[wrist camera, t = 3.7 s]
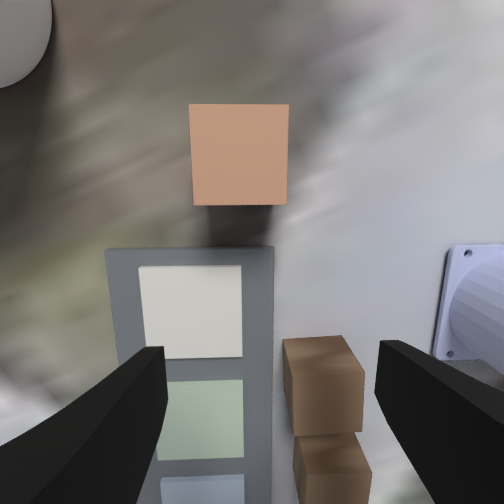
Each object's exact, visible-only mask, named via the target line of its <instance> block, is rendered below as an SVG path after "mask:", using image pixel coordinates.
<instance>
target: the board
mask: <svg viewBox="0 0 504 504" xmlns="http://www.w3.org/2000/svg"><path fill="white" fill-rule="evenodd" d="M104 253H105V260H106V268H107V276H108V284H109V292H110V299H111V307H112V315H113V323H114V330H115V338H116V346H117V354H118V362H119V367H120V366H121V365H122V364H123V363H125V362H126V361H127V360H128V359H130V358H131V357H132V356H133V355H134V354H136V353H137V352H138V351H140V350H141V349H142V348H144V347H145V346H164V353H165V365H166V376H167V388H168V404H167V409H166V413H165V418H164V422H163V427H162V431H161V434H160V437H159V440H158V443H157V446H156V449H155V451H154V454H153V457H152V460H151V463H150V466H149V469H148V472H147V474H146V477H145V480H144V483H143V486H142V489H141V492H140V494H139V497H138V500H137V504H271V458H272V386H273V314H274V247H273V246H249V247H176V248H108V249H107V250H105V251H104Z"/></svg>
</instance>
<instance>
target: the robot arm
mask: <svg viewBox="0 0 504 504" xmlns="http://www.w3.org/2000/svg"><path fill="white" fill-rule="evenodd" d="M466 250H468V253H467V254H466V255H465V256H464V253H465V251H466ZM449 351H450V353H448V354H447V352H449ZM433 355H434V357H435V358H434V357H432V356H430V355H428V354H426V353H424V352H422V351H420V350H418V349H416V348H415V347H413V346H410V345H408V344H406V343H404V342H402V341H399V340H380V346H379V355H378V364H377V373H376V382H375V391H374V393H375V396H376V398H377V400H378V403H379V405H380V408H381V410H382V412H383V414H384V416H385V419H386V421H387V423H388V425H389V426H390V428H391V430H392V432H393V433H394V435H395V437H396V438H397V440H398V442H399V443H400V445H401V447H402V449H403V450H404V452H405V454H406V455H407V457H408V459H409V460H410V462H411V464H412V465H413V467H414V469H415V470H416V472H417V474H418V475H419V477H420V479H421V480H422V482H423V484H424V485H425V487H426V489H427V490H428V492H429V494H430V495H431V497H432V499H433V501H434V502H435V504H504V393H503V392H501V391H499V390H497V389H495V388H493V387H491V386H489V385H487V384H484V383H482V382H480V381H478V380H476V379H474V378H472V377H470V376H468V375H466V374H464V373H462V372H460V371H458V370H457V369H455V368H453V367H451V366H449V365H447V364H445V363H443V362H441V361H444V360H480V359H482V360H484V361H485V362H486V363H488V364H489V365H490V366H492V367H493V368H494V369H496V370H497V371H498V372H500V373H501V374H502V375H503V376H504V244H464V245H454V246H453V247H451V249H450V250H449V253H448V259H447V266H446V272H445V278H444V285H443V291H442V297H441V303H440V310H439V316H438V322H437V328H436V335H435V341H434V347H433ZM436 358H437V359H436ZM439 360H441V361H439ZM167 404H168V388H167V376H166V365H165V353H164V346H145V347H144V348H142V349H141V350H140V351H138V352H137V353H136V354H134V355H133V356H132V357H131V358H130V359H128V360H127V361H126V362H125V363H123V364H122V365H121V366H120V367H118V368H117V369H116V370H115V371H113V372H112V373H111V374H109V375H108V376H107V377H106V378H104V379H103V380H102V381H101V382H99V383H98V384H97V385H95V386H94V387H92V388H91V389H90V390H88V391H87V392H86V393H84V394H83V395H81V396H80V397H79V398H77V399H76V400H75V401H73V402H72V403H70V404H69V405H68V406H66V407H65V408H63V409H62V410H60V411H59V412H57V413H56V414H54V415H53V416H51V417H49V418H48V419H46V420H45V421H43V422H41V423H40V424H38V425H37V426H35V427H33V428H32V429H30V430H28V431H27V432H25V433H23V434H22V435H20V436H18V437H16V438H15V439H13V440H11V441H9V442H7V443H5V444H4V445H2V446H0V504H136V503H137V500H138V497H139V494H140V492H141V489H142V486H143V483H144V480H145V477H146V474H147V472H148V469H149V466H150V463H151V460H152V457H153V454H154V451H155V449H156V446H157V443H158V440H159V437H160V434H161V431H162V427H163V422H164V418H165V413H166V409H167Z"/></svg>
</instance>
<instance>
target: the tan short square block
mask: <svg viewBox="0 0 504 504" xmlns="http://www.w3.org/2000/svg"><path fill="white" fill-rule="evenodd" d="M288 114H289V105H257V104H189V117H190V137H191V157H192V177H193V197H194V205H286V197H287V156H288Z"/></svg>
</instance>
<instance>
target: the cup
mask: <svg viewBox="0 0 504 504" xmlns="http://www.w3.org/2000/svg"><path fill="white" fill-rule="evenodd" d="M51 24H52V9H51V0H0V88H3V87H7V86H9V85H12V84H14V83H16V82H18V81H20V80H21V79H23V78H24V77H26V76H27V75H28V74H29V73H30V72H31V71H32V70H33V69H34V68H35V67H36V66H37V64H38V63H39V61H40V60H41V58H42V56H43V55H44V53H45V50H46V48H47V45H48V42H49V38H50V33H51Z"/></svg>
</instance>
